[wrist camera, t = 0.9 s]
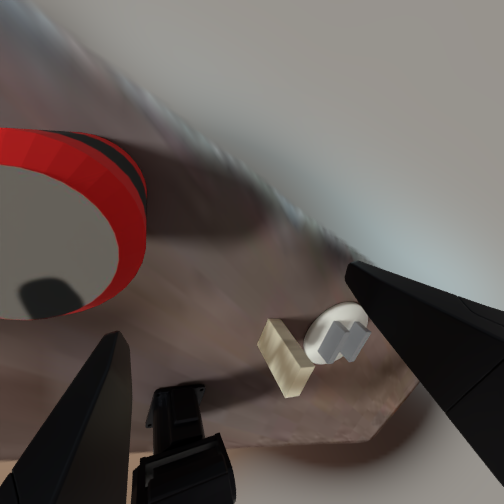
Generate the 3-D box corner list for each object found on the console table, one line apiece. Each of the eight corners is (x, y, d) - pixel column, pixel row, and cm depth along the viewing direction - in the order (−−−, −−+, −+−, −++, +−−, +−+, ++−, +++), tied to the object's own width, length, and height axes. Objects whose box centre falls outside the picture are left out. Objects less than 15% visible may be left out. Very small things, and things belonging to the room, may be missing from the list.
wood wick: (269, 344, 33) (299, 395, 27) (257, 344, 33) (285, 398, 26) (280, 319, 32) (314, 366, 26) (268, 318, 31) (300, 367, 25)
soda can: (59, 243, 19) (-45, 368, 9) (2, 138, 15) (-289, 141, 5) (157, 223, 21) (167, 303, 11) (129, 127, 17) (103, 114, 7)
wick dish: (343, 357, 43) (357, 373, 40) (292, 361, 37) (304, 380, 34) (374, 303, 39) (392, 317, 37) (323, 299, 34) (339, 314, 31)
